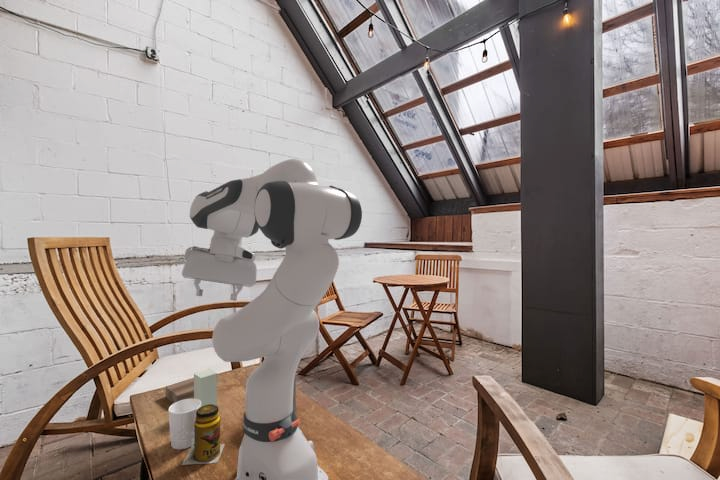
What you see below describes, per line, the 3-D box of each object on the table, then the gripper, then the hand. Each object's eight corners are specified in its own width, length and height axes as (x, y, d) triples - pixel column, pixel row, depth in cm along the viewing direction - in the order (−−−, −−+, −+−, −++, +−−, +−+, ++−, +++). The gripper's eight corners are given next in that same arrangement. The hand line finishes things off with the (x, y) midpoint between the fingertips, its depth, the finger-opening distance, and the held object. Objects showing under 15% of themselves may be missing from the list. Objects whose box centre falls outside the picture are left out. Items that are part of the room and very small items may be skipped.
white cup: (163, 444, 91) (162, 407, 91) (191, 430, 98) (191, 395, 98) (178, 455, 87) (178, 416, 87) (207, 439, 93) (207, 403, 93)
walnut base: (208, 396, 118) (207, 385, 118) (177, 407, 111) (177, 395, 111) (195, 388, 125) (195, 377, 125) (165, 398, 117) (165, 386, 117)
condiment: (217, 463, 84) (217, 415, 84) (181, 465, 83) (180, 417, 83) (225, 444, 92) (225, 400, 91) (191, 447, 90) (191, 402, 90)
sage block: (216, 410, 109) (216, 373, 109) (201, 416, 105) (201, 378, 105) (209, 404, 112) (209, 368, 112) (194, 410, 108) (193, 373, 108)
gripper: (188, 242, 94) (177, 292, 90) (261, 256, 105) (254, 301, 101) (185, 247, 100) (175, 294, 95) (255, 259, 110) (248, 303, 106)
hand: (216, 298), depth 98 cm, fingers open, 8 cm apart
